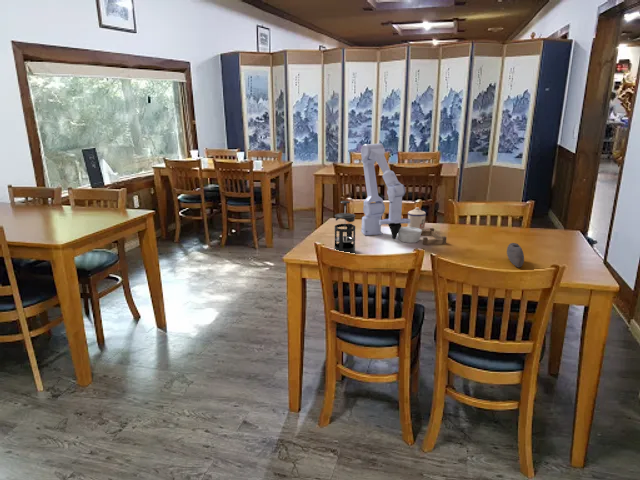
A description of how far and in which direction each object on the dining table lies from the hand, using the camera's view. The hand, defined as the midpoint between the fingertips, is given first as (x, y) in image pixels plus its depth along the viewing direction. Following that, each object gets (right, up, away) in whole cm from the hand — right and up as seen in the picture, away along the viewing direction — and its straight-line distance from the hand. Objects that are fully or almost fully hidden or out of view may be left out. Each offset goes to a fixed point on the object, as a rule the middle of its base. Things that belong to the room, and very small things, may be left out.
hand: (394, 238), depth 209 cm
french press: (-24, -6, -15) cm, 29 cm away
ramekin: (+7, -1, +1) cm, 8 cm away
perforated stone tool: (+44, -10, -31) cm, 54 cm away
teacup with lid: (+15, +5, +21) cm, 26 cm away
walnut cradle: (+17, 0, +3) cm, 17 cm away
